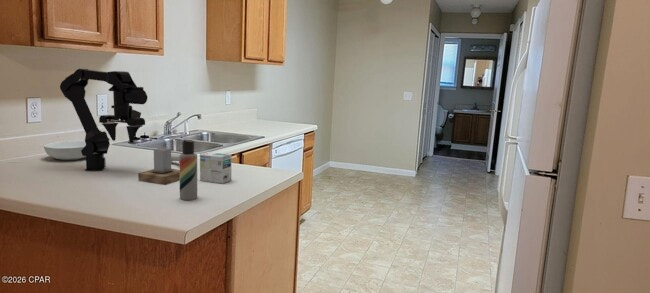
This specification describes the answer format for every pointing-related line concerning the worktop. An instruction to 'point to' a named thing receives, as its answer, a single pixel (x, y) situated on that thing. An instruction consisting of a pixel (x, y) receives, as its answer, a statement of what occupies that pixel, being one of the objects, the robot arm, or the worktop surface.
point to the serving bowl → (65, 149)
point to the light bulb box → (215, 167)
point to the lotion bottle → (188, 171)
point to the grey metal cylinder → (175, 157)
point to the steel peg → (162, 161)
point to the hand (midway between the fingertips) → (122, 141)
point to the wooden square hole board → (159, 177)
